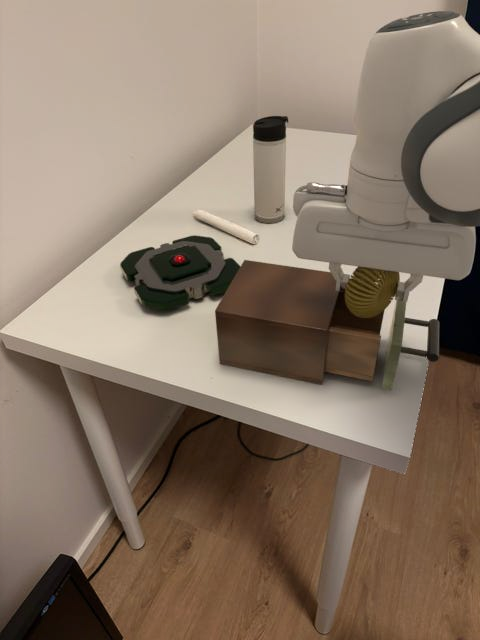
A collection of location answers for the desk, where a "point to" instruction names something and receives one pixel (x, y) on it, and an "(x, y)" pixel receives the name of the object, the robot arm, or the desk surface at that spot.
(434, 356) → the drawer
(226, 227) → the white rod
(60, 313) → the desk surface
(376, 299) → the sculpture
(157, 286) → the flat green button pad
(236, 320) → the cabinet
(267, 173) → the travel mug
